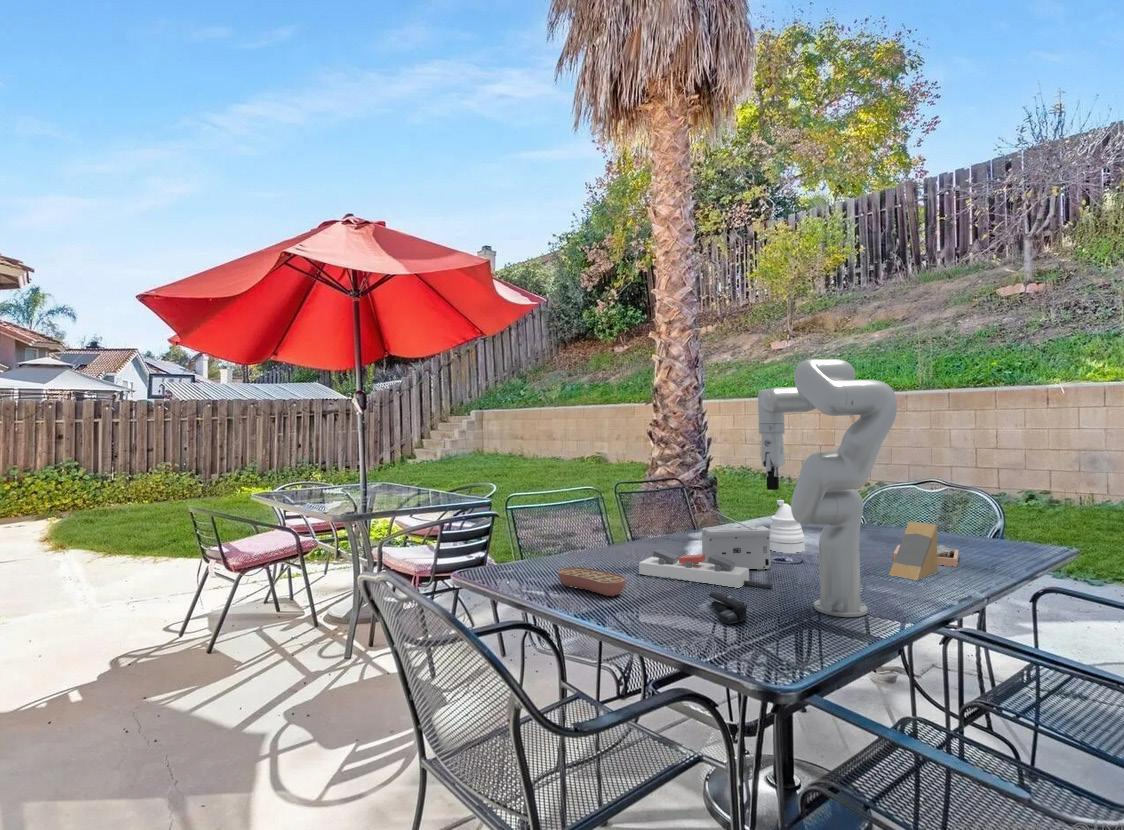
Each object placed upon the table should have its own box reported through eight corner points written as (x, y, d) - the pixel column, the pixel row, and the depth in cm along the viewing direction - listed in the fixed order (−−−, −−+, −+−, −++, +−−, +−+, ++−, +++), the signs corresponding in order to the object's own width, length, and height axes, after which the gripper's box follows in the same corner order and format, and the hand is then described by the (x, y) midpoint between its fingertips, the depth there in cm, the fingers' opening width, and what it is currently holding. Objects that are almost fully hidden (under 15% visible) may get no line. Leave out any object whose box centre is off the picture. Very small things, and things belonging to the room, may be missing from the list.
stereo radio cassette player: (764, 564, 212) (763, 504, 212) (773, 570, 204) (772, 508, 204) (701, 566, 211) (700, 506, 211) (708, 573, 203) (706, 510, 203)
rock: (905, 560, 216) (904, 545, 215) (914, 554, 222) (913, 539, 222) (948, 565, 207) (947, 550, 206) (956, 559, 213) (955, 544, 213)
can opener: (754, 626, 154) (754, 603, 154) (726, 628, 153) (726, 604, 153) (725, 604, 172) (725, 583, 172) (700, 605, 171) (700, 584, 171)
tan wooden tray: (957, 567, 203) (957, 559, 203) (893, 560, 213) (893, 553, 213) (958, 557, 216) (958, 549, 216) (898, 551, 225) (898, 544, 225)
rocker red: (700, 563, 193) (699, 557, 193) (679, 564, 197) (678, 558, 197) (706, 560, 197) (704, 554, 197) (684, 561, 201) (683, 555, 201)
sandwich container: (886, 576, 195) (885, 527, 194) (909, 567, 204) (908, 520, 204) (916, 582, 188) (915, 531, 188) (938, 572, 197) (937, 524, 197)
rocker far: (672, 565, 198) (673, 559, 198) (652, 556, 202) (653, 551, 201) (677, 562, 202) (679, 556, 201) (658, 554, 205) (659, 548, 205)
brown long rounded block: (552, 588, 190) (551, 571, 190) (574, 581, 198) (574, 564, 198) (612, 602, 175) (612, 584, 175) (634, 594, 182) (633, 577, 182)
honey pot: (779, 554, 226) (778, 503, 225) (761, 547, 238) (760, 498, 238) (812, 552, 228) (811, 501, 228) (792, 544, 241) (791, 496, 241)
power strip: (767, 592, 180) (767, 572, 180) (639, 575, 202) (638, 557, 202) (776, 585, 188) (775, 565, 188) (651, 569, 209) (651, 551, 209)
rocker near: (729, 572, 188) (731, 565, 188) (707, 563, 192) (708, 557, 192) (734, 568, 192) (735, 562, 192) (712, 560, 196) (713, 554, 195)
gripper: (778, 430, 187) (779, 493, 187) (789, 428, 200) (791, 487, 200) (752, 430, 191) (753, 491, 191) (765, 428, 204) (766, 486, 204)
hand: (772, 489), depth 196 cm, fingers closed
